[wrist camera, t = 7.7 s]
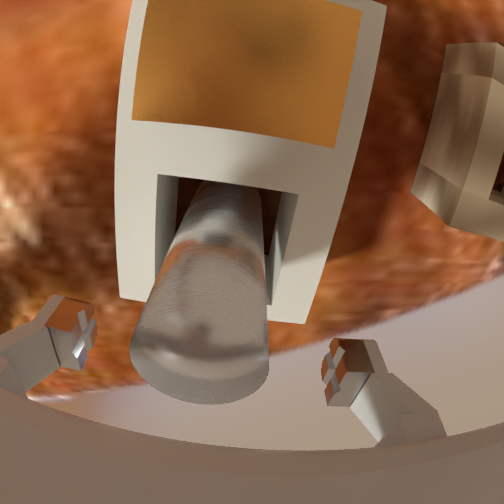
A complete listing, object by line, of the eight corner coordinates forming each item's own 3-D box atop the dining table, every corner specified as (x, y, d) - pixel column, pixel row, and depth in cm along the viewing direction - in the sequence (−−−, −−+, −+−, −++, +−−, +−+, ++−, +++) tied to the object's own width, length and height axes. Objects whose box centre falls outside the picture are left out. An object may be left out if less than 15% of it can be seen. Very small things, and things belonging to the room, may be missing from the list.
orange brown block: (194, 20, 13) (152, -18, 6) (316, 38, 13) (362, 11, 7) (182, 102, 15) (131, 120, 9) (300, 119, 15) (334, 148, 9)
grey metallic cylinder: (197, 167, 18) (123, 301, 8) (267, 177, 18) (283, 324, 8) (191, 229, 20) (136, 392, 10) (255, 239, 20) (255, 410, 10)
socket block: (169, -5, 13) (139, -31, 8) (353, 22, 14) (386, 5, 9) (144, 251, 21) (120, 297, 16) (295, 272, 21) (304, 323, 17)
